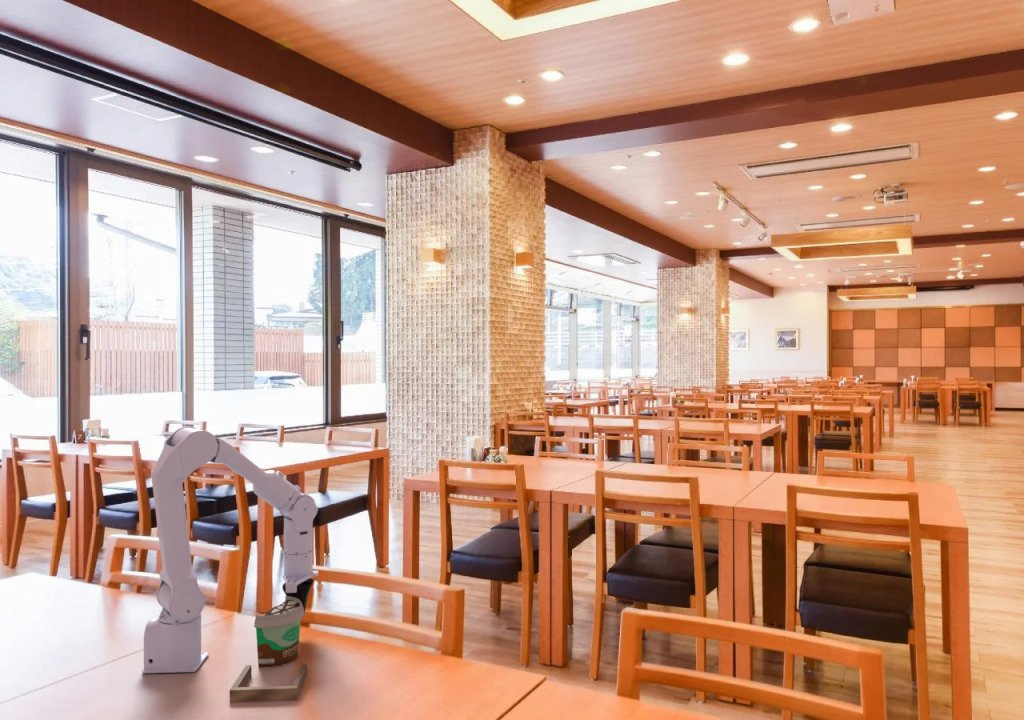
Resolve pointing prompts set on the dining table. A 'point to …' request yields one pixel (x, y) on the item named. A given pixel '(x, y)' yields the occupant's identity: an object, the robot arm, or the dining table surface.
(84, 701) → the dining table surface
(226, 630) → the dining table surface
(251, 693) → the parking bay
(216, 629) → the dining table surface
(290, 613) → the food container
